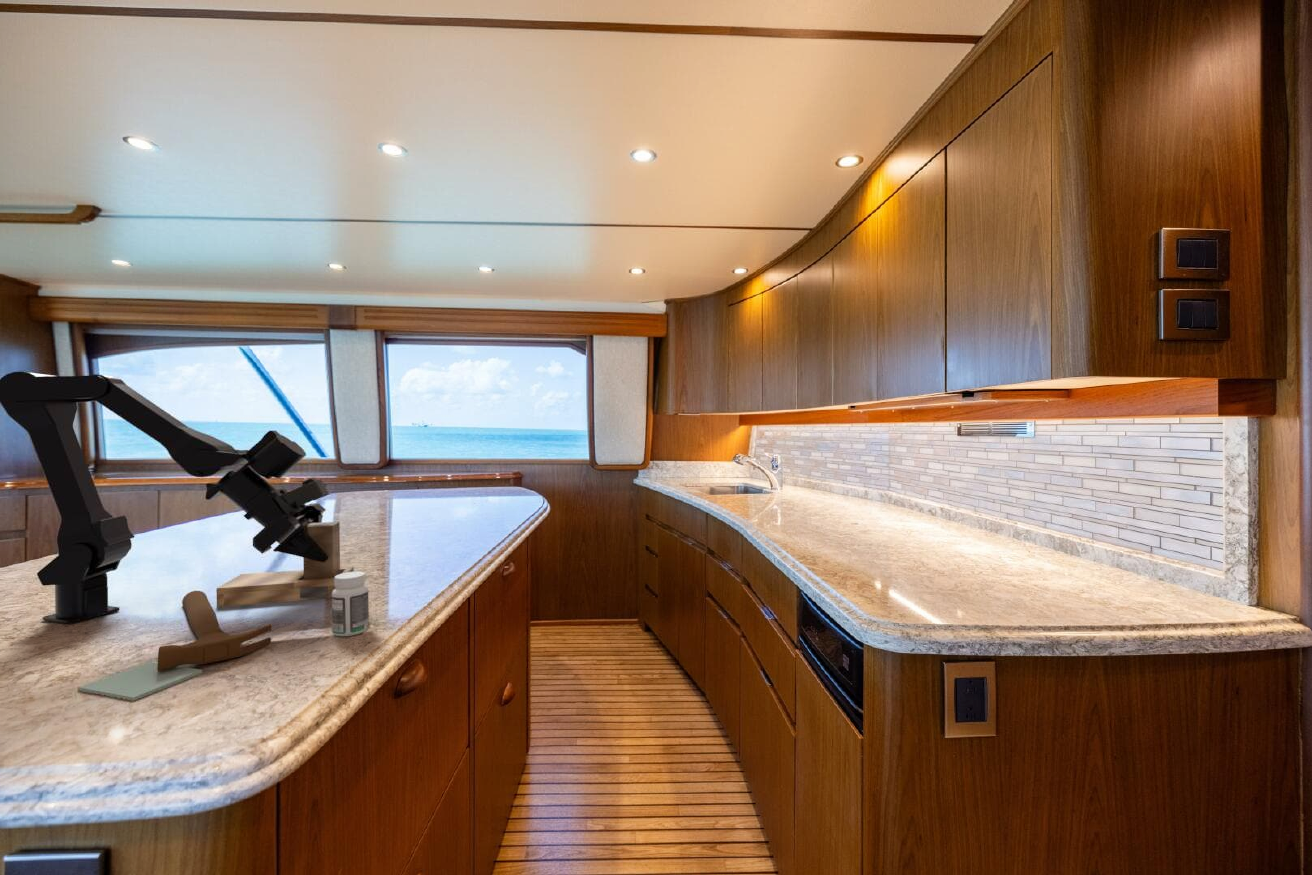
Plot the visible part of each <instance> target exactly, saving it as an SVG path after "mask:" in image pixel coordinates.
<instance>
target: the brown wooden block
mask: <svg viewBox="0 0 1312 875" xmlns="http://www.w3.org/2000/svg"><path fill="white" fill-rule="evenodd" d="M340 524H341V523H340V521H328V522H323V521H322V523H311V524H309V525H308V535H309V536H310V537H311V538H312V539H313V540H314V541H315V542H316V543H317V545H318V546H319V547H320V548H321V549H322V550H323V551H324V552H325V554H326V555H327V556H328V557H329V558H328V559H327V560H326V561H325V562H319V561H315V560H312V559H308V558H304V557H302V558H303V570H304V580H311V579H325V578H334V577H335V576H336V575H339V574H340V568H341V549H340V548H341V545H340V544H341V543H340V542H341V540H340V539H341V538H340V535H341V533H340V532H341V530H340V528H341V525H340Z"/></svg>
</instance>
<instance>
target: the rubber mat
mask: <svg viewBox="0 0 1312 875" xmlns="http://www.w3.org/2000/svg"><path fill="white" fill-rule="evenodd" d="M157 664H158V662H153V661H148V662H145V663H142V664H139V665H136V666H134V667H131V668H128V669H125V670H122V671H120V672H117V673H114V674H112V675H109V676H105V677H103V678H100V679H98V680H95V681H91V682H88V683H85V684H83V685H80V686H78V687H77V691H78V692H81V693H82V692H83V693H89V694H93V693H96V694H95V695H98V694H101V695H100V696H104V695H106V696H105V697H109V696H110V697H111V698H115V697H119V698H118V699H120V698H123V699H122V700H125V699H127V700H126V701H131V700H132V702H135V701H138V700H139V698H140V699H142V698H145V697H147V696H149V695H151V694H154V693H157V692H159V691H161V690H165V689H166V688H167V689H168V688H169V687H172V686H174V685H176V684H180V683H181V682H184V681H186V680H188V679H189V680H190V679H192V678H194V677H196V676H199V675H201V674H203V669H197V668H191V667H185V666H177V667H175V668H172V669H169V670H165V671H159V672H158V670H157ZM110 697H109V698H110ZM124 698H125V699H124ZM134 700H135V701H134Z"/></svg>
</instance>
